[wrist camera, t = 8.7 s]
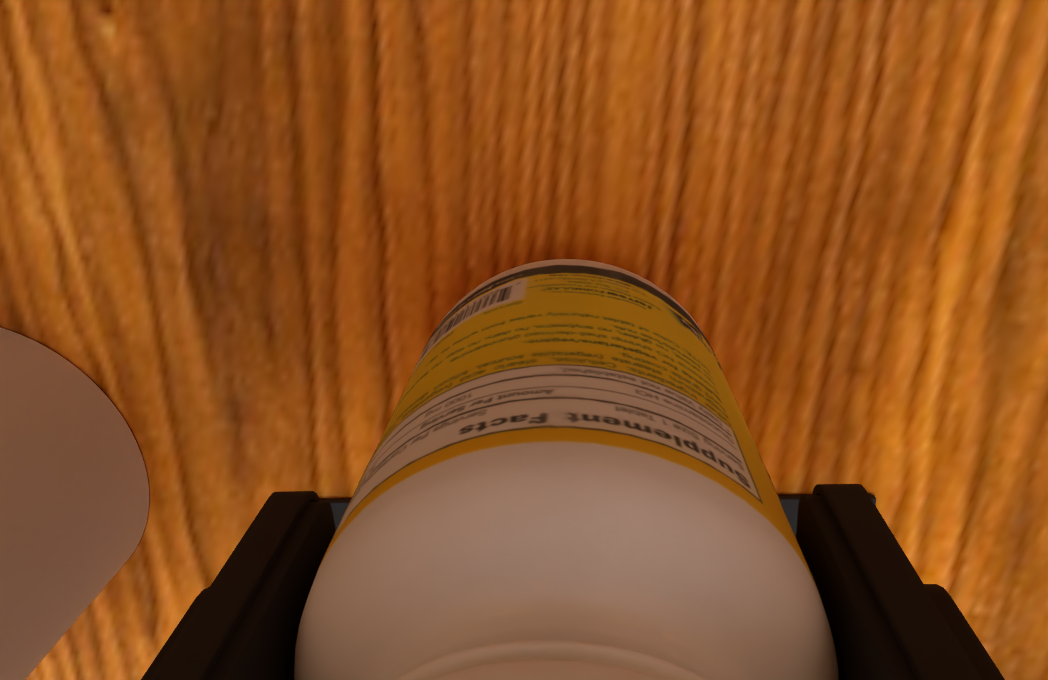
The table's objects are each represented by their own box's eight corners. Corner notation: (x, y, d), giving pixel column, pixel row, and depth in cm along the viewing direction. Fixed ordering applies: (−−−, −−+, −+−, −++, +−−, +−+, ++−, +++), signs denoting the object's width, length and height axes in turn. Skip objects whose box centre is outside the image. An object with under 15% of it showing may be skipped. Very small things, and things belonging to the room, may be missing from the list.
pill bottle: (653, 554, 18) (756, 1282, 7) (389, 470, 17) (113, 1112, 7) (771, 307, 15) (1156, 867, 5) (469, 205, 15) (235, 589, 5)
